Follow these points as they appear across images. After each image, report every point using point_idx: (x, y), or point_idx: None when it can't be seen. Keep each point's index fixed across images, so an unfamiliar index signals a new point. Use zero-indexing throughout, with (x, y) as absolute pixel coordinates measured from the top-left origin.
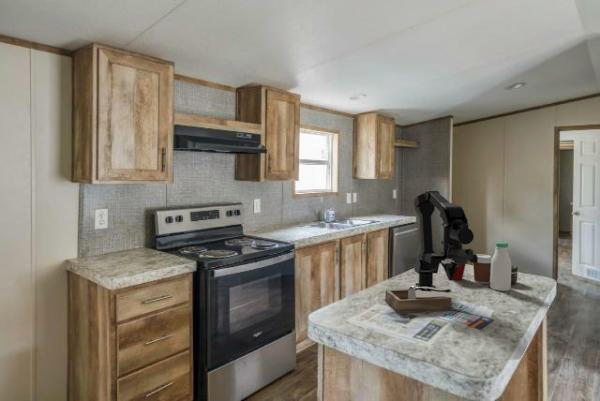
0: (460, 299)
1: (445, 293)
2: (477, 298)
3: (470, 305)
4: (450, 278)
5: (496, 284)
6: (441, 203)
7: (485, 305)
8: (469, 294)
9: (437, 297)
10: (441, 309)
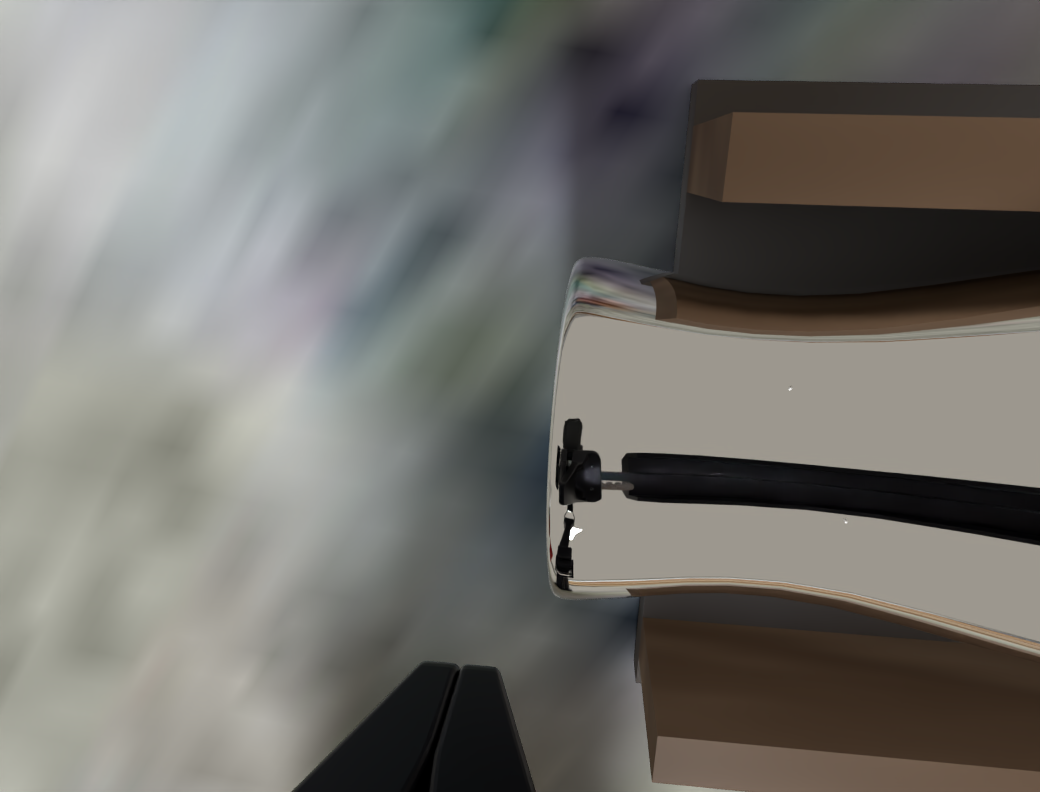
0: (264, 534)
1: (756, 345)
2: (6, 518)
3: (239, 277)
4: (482, 717)
5: None
6: None
7: (6, 232)
8: (51, 667)
9: (999, 277)
10: (933, 84)
